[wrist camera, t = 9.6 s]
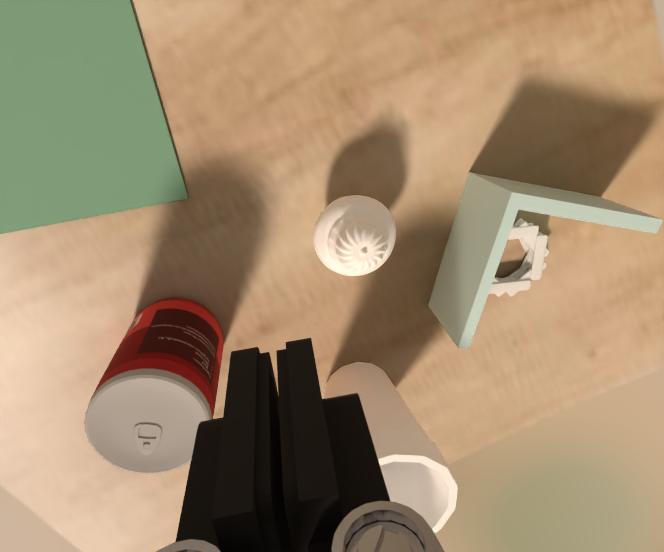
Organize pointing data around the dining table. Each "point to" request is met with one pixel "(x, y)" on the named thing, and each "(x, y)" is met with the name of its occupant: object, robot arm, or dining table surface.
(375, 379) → the foam cup
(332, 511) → the robot arm
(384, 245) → the muffin
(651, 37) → the dining table surface
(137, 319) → the canned food
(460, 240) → the right angle wall
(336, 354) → the dining table surface
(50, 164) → the felt mat
